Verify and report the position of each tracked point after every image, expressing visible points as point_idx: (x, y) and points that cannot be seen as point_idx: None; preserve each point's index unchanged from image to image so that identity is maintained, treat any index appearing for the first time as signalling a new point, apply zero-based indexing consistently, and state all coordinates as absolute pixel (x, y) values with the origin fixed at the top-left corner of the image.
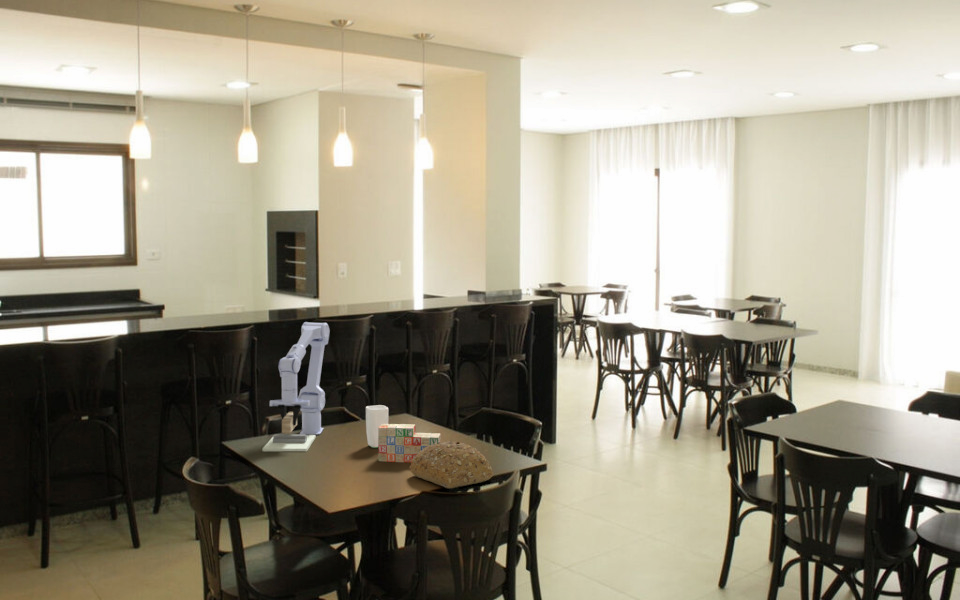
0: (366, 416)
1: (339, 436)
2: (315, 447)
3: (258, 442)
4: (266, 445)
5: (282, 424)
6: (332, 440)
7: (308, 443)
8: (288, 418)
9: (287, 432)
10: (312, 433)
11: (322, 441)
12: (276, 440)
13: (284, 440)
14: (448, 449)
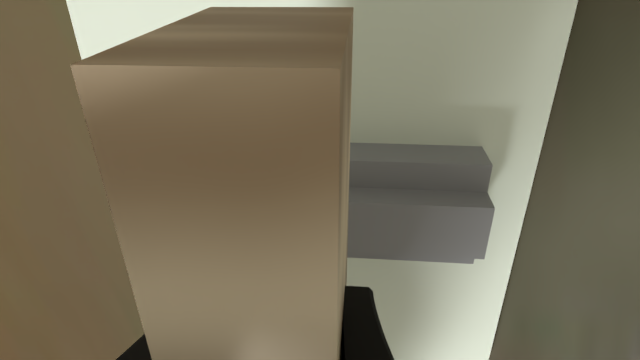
0: None
1: (19, 352)
2: (42, 61)
3: (618, 244)
4: (552, 39)
5: (329, 33)
6: (13, 268)
7: None
8: (187, 234)
9: (253, 10)
10: None
11: (74, 247)
12: (445, 157)
13: (356, 154)
14: None
